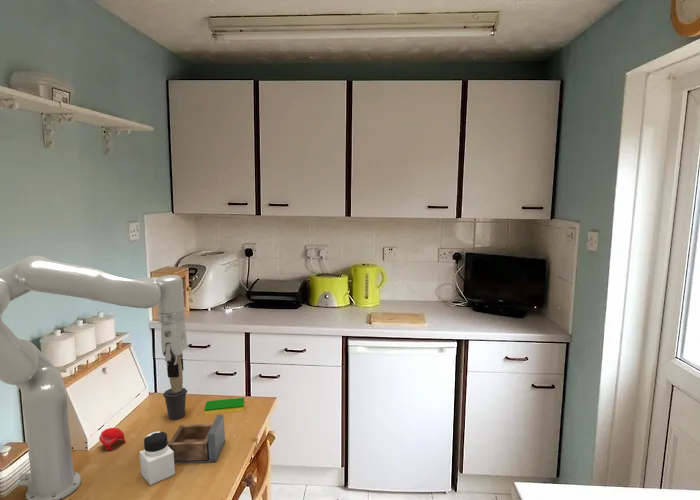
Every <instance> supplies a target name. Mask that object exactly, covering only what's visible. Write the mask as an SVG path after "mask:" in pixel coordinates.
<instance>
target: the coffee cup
mask: <svg viewBox="0 0 700 500" xmlns="http://www.w3.org/2000/svg"><path fill="white" fill-rule="evenodd" d="M187 394H188V390H187V389H186V387H183V388H182V390H181V391H180V392H172V390H171V388H169V389H166V390H165V391H164V393H163V394H162V395H163V398H164V400H165V404H166V409H167V415H168V419H169V420H170V421H177V420H182V419H183V418H184V417H185V414H186V401H187V400H186V398H187V396H186V395H187Z"/></svg>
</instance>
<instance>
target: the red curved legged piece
mask: <svg viewBox="0 0 700 500" xmlns="http://www.w3.org/2000/svg"><path fill="white" fill-rule="evenodd" d="M98 440H99V442H100V443H102V446H104V447H105V448H106V449H107V450H108V451H109V452H110V451H113V448H112V445H114V443H116V442H117V441H118V440H121V441H123V442H124V443H126V441H127V440H126V439H125V433H124V432H123V431H122V430H121V429H120V428H116V427H108V428H105V429H104V430H102V432H101V433H100V435H99V437H98Z"/></svg>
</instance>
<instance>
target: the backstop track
mask: <svg viewBox="0 0 700 500" xmlns="http://www.w3.org/2000/svg"><path fill="white" fill-rule="evenodd" d="M212 424H213V425H212V427H211V429H210V431H209V433H208V448H209V458H208V460H192V461H174V463H175V465H179V464H181V465H182V464H183V465H185V464H204V463H205V464H206V463H210V464H211V463H217V461H218V460H219V456H220V454H221V452H222V449H223V448H224V445H225V442H226V435H225V433H226V432H225V431H226V430H225V416H224V414H217V415H216V417H215V419H214V420H213V423H212ZM167 442H168V444H169V442H170V440H167Z"/></svg>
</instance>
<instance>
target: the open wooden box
mask: <svg viewBox="0 0 700 500" xmlns="http://www.w3.org/2000/svg"><path fill="white" fill-rule="evenodd" d="M212 425H213V423H207V424H205V423H204V424H180V425H179V426H178V427H177V430H176V431H175V433H174V434H173V436H172V437H171V439H170V440H169V441H170V442H169V444H168V447H169V448H170V449H171V450H173V452H174V461H192V460H208V458H209V448H208V433H209V431H210V429H211V427H212Z"/></svg>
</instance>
